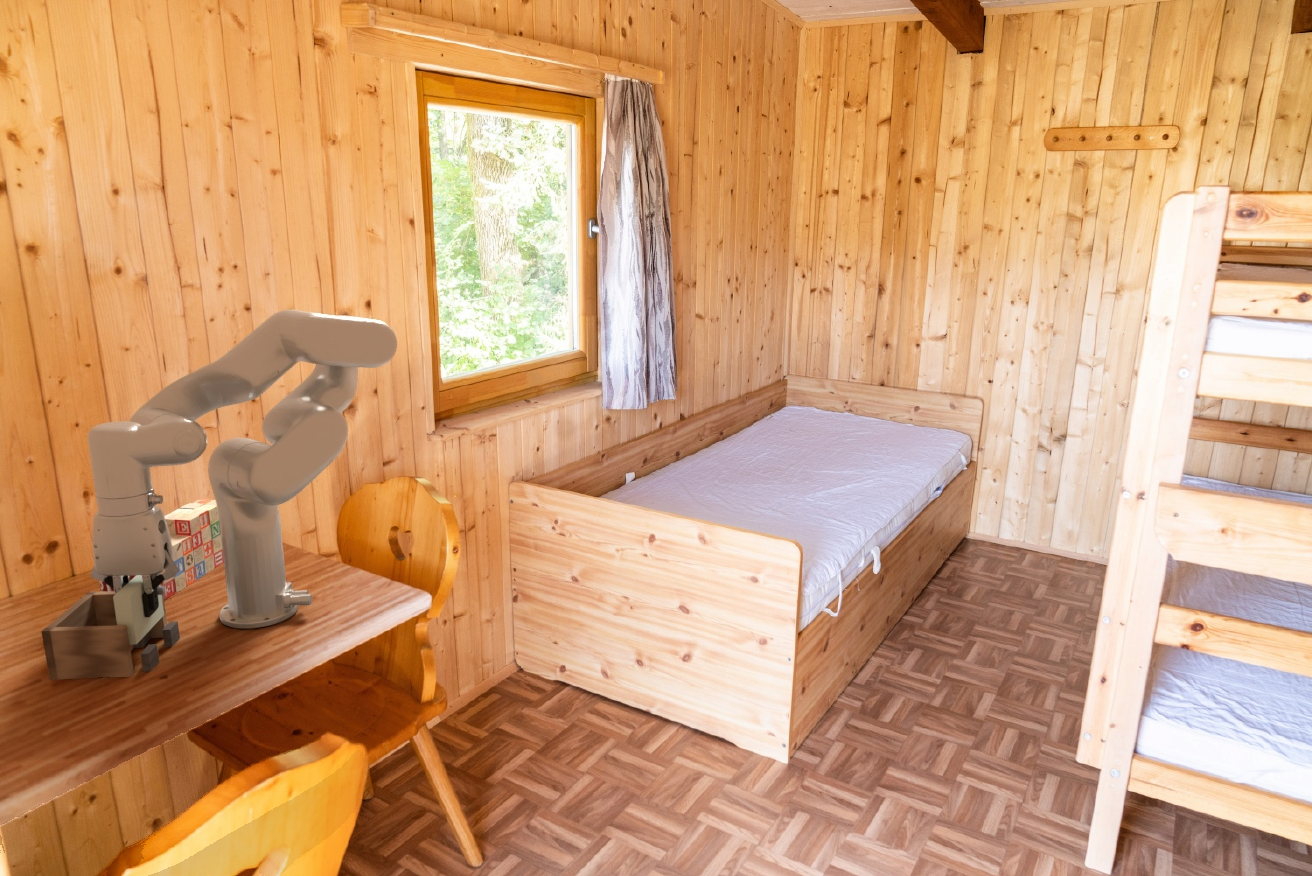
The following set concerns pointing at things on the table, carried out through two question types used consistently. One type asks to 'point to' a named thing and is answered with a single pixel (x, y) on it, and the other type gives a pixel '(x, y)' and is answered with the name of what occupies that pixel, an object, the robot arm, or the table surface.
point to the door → (136, 609)
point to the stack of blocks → (193, 543)
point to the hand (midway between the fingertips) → (140, 613)
